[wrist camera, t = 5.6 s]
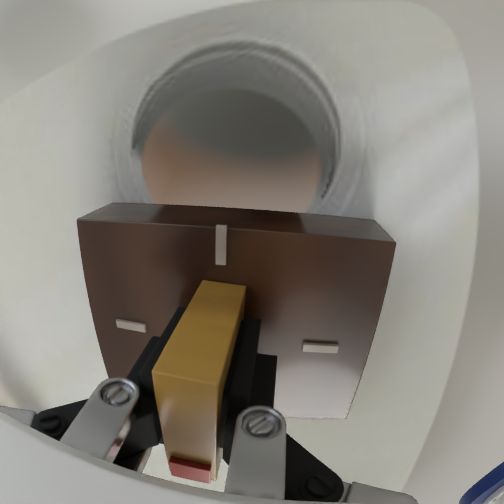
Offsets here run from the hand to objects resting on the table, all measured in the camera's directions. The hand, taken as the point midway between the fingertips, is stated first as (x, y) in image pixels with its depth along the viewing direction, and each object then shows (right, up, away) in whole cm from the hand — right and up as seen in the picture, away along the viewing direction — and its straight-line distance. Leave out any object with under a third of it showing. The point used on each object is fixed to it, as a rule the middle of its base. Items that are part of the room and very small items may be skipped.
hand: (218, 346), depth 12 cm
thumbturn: (0, 0, +1) cm, 1 cm away
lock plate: (0, +1, +3) cm, 4 cm away
